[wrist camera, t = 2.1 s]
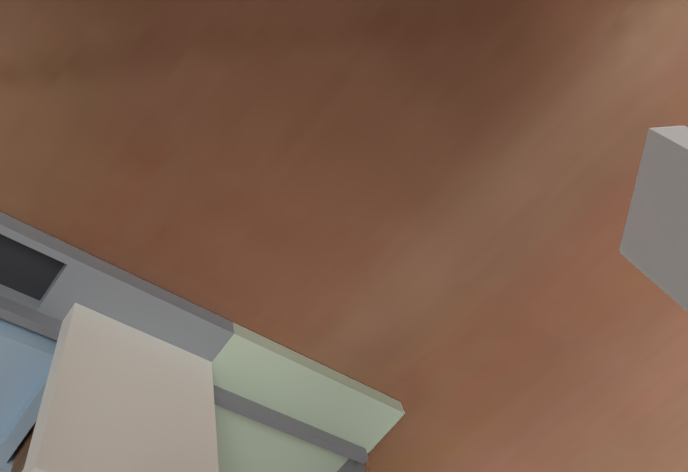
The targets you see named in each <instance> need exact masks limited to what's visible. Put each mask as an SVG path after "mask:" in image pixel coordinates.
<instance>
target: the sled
mask: <svg viewBox="0 0 688 472" xmlns="http://www.w3.org/2000/svg"><path fill="white" fill-rule="evenodd" d="M56 344H57V341H56V340H54V339H51V338H49V337H46V336H44V335H41V334H39V333H37V332H34V331H32V330H29V329H27V328H24V327H22V326H19V325H17V324H14V323H12V322H9V321H7V320H4V319H2V318H0V467H1V469H0V472H11V469H12V466H13V462H14V458H15V455H16V451H17V448H18V446H19V444H20V443H21V442H22V440H23V439H24V437H25V436H26V435H27V433H28V432H29V430H30V429H31V427H32V426H33V425H34V423H35V422H36V420H37V416H38V412H39V409H40V405H41V401H42V397H43V393H44V389H45V386H46V382H47V378H48V374H49V370H50V367H51V363H52V359H53V355H54V351H55V347H56Z"/></svg>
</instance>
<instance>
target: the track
mask: <svg viewBox="0 0 688 472" xmlns="http://www.w3.org/2000/svg"><path fill="white" fill-rule="evenodd" d="M0 318H2V319H4V320H7V321H9V322H12V323H14V324H17V325H19V326H22V327H24V328H27V329H29V330H32V331H34V332H37V333H39V334H41V335H44V336H46V337H49V338H51V339H54V340H56V341H57V344H56V347H55V351H54V355H53V359H52V363H51V367H50V370H49V374H48V378H47V382H46V386H45V389H44V393H43V397H42V401H41V405H40V409H39V412H38V416H37V420H36V424H35V428H34V432H33V435H32V439H31V443H30V447H29V451H28V455H27V458H26V462H25V466H24V469H23V470H22V472H366V470H365V467H364V464H365V463H366V462H367V460H368V459H369V458H368V453H369V452H370V451H371V450H372V449H373V448H374V446H375V445H376V444H377V443H378V442H379V441H380V440H381V439H382V438H383V437H384V436H385V435H386V434H387V432H388V431H389V430H390V429H391V428H392V427H393V426H394V425H395V424H396V423H397V422H398V421H399V420H400V418H401V417H402V416H403V415H404V414H405V412H404V409H403V407H402V405H401V402H400V401H398V400H395V399H393V398H391V397H389V396H387V395H385V394H383V393H381V392H379V391H377V390H374V389H372V388H370V387H368V386H366V385H364V384H362V383H360V382H358V381H356V380H353V379H351V378H349V377H347V376H345V375H343V374H341V373H339V372H337V371H334V370H332V369H330V368H328V367H326V366H324V365H322V364H320V363H318V362H316V361H313V360H311V359H309V358H307V357H305V356H303V355H301V354H299V353H297V352H294V351H292V350H290V349H288V348H286V347H284V346H282V345H280V344H278V343H276V342H273V341H271V340H269V339H267V338H265V337H263V336H261V335H259V334H257V333H255V332H252V331H250V330H248V329H246V328H244V327H242V326H240V325H238V324H236V323H233V322H231V321H229V320H227V319H225V318H223V317H221V316H219V315H217V314H215V313H212V312H210V311H208V310H206V309H204V308H202V307H200V306H198V305H196V304H193V303H191V302H189V301H187V300H185V299H183V298H181V297H179V296H177V295H175V294H172V293H170V292H168V291H166V290H164V289H162V288H160V287H158V286H156V285H154V284H151V283H149V282H147V281H145V280H143V279H141V278H139V277H137V276H135V275H132V274H130V273H128V272H126V271H124V270H122V269H120V268H118V267H116V266H114V265H111V264H109V263H107V262H105V261H103V260H101V259H99V258H97V257H95V256H92V255H90V254H88V253H86V252H84V251H82V250H80V249H78V248H76V247H74V246H71V245H69V244H67V243H65V242H63V241H61V240H59V239H57V238H55V237H53V236H50V235H48V234H46V233H44V232H42V231H40V230H38V229H36V228H34V227H31V226H29V225H27V224H25V223H23V222H21V221H19V220H17V219H15V218H13V217H10V216H8V215H6V214H4V213H2V212H0ZM0 469H1V467H0Z"/></svg>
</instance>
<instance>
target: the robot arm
mask: <svg viewBox="0 0 688 472" xmlns="http://www.w3.org/2000/svg"><path fill="white" fill-rule="evenodd" d="M619 253H620V254H621V255H623V256H624V257H625V258H626V259H627V260H628V261H629V262H631V263H632V264H633V265H634V266H635V267H636V268H638V269H639V270H640V271H641V272H642V273H643V274H644V275H646V276H647V277H648V278H649V279H650V280H651V281H652V282H654V283H655V284H656V285H657V286H658V287H659V288H661V289H662V290H663V291H664V292H665V293H666V294H667V295H669V296H670V297H671V298H672V299H673V300H674V301H675V302H677V303H678V304H679V305H680V306H681V307H682V308H684V309H685V310H686V311H687V312H688V127H686V126H684V125H682V126H669V127H656V128H649V129H648V133H647V138H646V142H645V146H644V150H643V154H642V158H641V163H640V167H639V171H638V175H637V179H636V183H635V188H634V192H633V196H632V200H631V204H630V208H629V212H628V217H627V221H626V225H625V229H624V233H623V237H622V242H621V246H620V250H619Z"/></svg>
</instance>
